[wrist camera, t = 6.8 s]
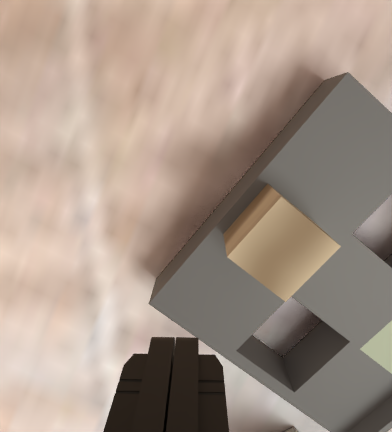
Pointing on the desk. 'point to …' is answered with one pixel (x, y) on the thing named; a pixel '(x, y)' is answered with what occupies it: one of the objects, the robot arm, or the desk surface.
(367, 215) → the plate
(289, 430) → the coffee box
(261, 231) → the block
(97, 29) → the desk surface
